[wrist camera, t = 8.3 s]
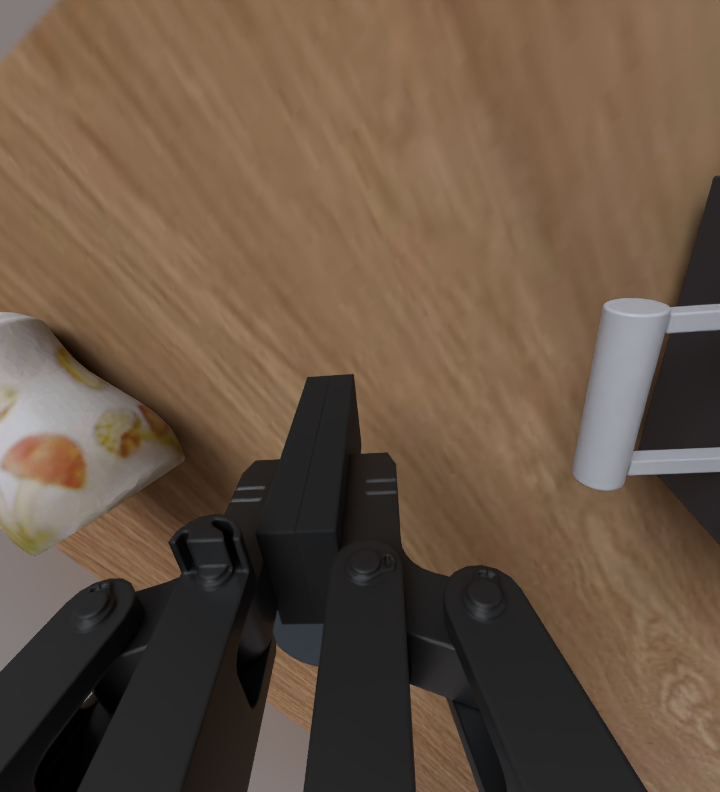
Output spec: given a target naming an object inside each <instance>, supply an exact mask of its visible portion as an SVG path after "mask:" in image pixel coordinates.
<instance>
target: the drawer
mask: <svg viewBox="0 0 720 792" xmlns="http://www.w3.org/2000/svg"><path fill="white" fill-rule="evenodd" d="M665 333H667V334H669V333H670V337H669V341H668V344H667V348H666V352H665V355H664V359H663V362H662V366H661V370H660V373H659V377H658V381H657V384H656V388H655V391H654V395H653V399H652V402H651V406H650V410H649V413H648V417H647V420H646V424H645V428H644V431H643V435H642V439H641V442H640V446H639V449H638V451H633V450H634V446H635V442H636V439H637V435H638V431H639V428H640V424H641V420H642V416H643V413H644V409H645V405H646V402H647V398H648V394H649V390H650V387H651V383H652V379H653V376H654V372H655V368H656V364H657V361H658V357H659V353H660V350H661V346H662V342H663V338H664V335H665ZM572 472H573V475H574V477H575V478H576V479H577V480H578V481H579V482H580V483H582V484H583V485H585V486H587V487H590V488H593V489H596V490H602V491H612V490H616V489H619V488H620V487H622V486H623V485H624V483H625V480H626V476H627V475H654V474H657V475H658V476H659V477H660V479H661V480H662V481H663V482H664V483H665V484H666V485H667V486H668V488H669V489H670V490H671V491H672V492H673V493H674V494H675V496H676V497H677V498H678V499H679V500H680V501H681V502H682V503H683V505H684V506H685V507H686V508H687V509H688V510H689V511H690V512H691V514H692V515H693V516H694V517H695V518H696V519H697V520H698V521H699V523H700V524H701V525H702V526H703V527H704V528H705V529H706V531H707V532H708V533H709V534H710V535H711V536H712V537H713V538H714V540H715V541H716V542H717V543H718V544H719V545H720V176H715V177H714V178H713V181H712V185H711V189H710V192H709V196H708V199H707V203H706V207H705V210H704V214H703V218H702V221H701V225H700V228H699V232H698V236H697V239H696V243H695V247H694V250H693V254H692V257H691V261H690V265H689V268H688V272H687V276H686V279H685V283H684V286H683V290H682V294H681V297H680V301H679V305H678V307H669V306H668V305H666V304H664V303H661V302H658V301H654V300H649V299H640V298H622V299H615V300H611V301H608V302H606V303H605V304H604V305H603V308H602V313H601V319H600V324H599V329H598V335H597V340H596V345H595V351H594V356H593V361H592V367H591V372H590V377H589V382H588V388H587V393H586V398H585V404H584V409H583V414H582V420H581V425H580V430H579V435H578V441H577V446H576V451H575V457H574V462H573V467H572Z"/></svg>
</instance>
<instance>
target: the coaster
mask: <svg viewBox="0 0 720 792" xmlns="http://www.w3.org/2000/svg"><path fill="white" fill-rule="evenodd" d="M323 626H324V624H288V625H282V623H281V620H280V616H279V613H278V610H277V615H276V619H275V623H274V628H273V633H274V636H275V639H276V643H277V645H278V646H279V647H280V648H281V649H282V650H283V651H284V652H285V653H287V654H288V655H290V656H291V657H293V658H295V659H297V660H299V661H301V662H304V663H307V664H310V665H313V666H318V667H319V659H320V650H321V642H322V634H323Z"/></svg>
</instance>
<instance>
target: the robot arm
mask: <svg viewBox="0 0 720 792" xmlns="http://www.w3.org/2000/svg"><path fill="white" fill-rule="evenodd" d="M168 543H169V545H170V547H171V549H172V552H173V554H174V556H175V559H176V561H177V563H178V565H179V568H180V570H181V572H182V573H181V576H180V577H179V578H176V579H174V580H171V581H169V582H166V583H163V584H160V585H156V586H153V587H150V588H147V589H143V590H140V591H137V592H135V590H134V588H133V586H132V584H131V583H130V582H128V581H126V580H124V579H107V580H103V581H100V582H97V583H94V584H92V585H90V586H89V587H87V588H85V589H83V590H82V591H80V592H79V593H78V594H76V595H75V596H74V597H73V598H72V599H71V600H69V601H68V602H67V603H66V604H65V605H64V606H63V607H62V608H61V609H60V610H59V611H58V612H57V613H56V614H55V615H54V616H53V617H52V618H51V619H50V621H49V622H48V623H47V624H46V625H45V626H44V627H43V628H42V629H41V630H40V631H39V632H38V633H37V634H36V635H35V636H34V637H33V638H32V639H31V640H30V642H28V644H27V645H26V646H25V647H24V648H23V649H22V650H21V651H20V652H19V653H18V654H17V655H16V656H15V657H14V658H13V659H12V660H11V661H10V662H9V663H8V665H7V666H6V667H5V668H4V669H3V670H2V671H1V672H0V792H247V790H248V785H249V780H250V776H251V771H252V766H253V761H254V756H255V752H256V747H257V742H258V737H259V732H260V727H261V722H262V718H263V713H264V708H265V703H266V698H267V694H268V689H269V684H270V679H271V674H272V669H273V664H274V660H275V655H276V639H275V636H274V633H273V628H274V623H275V619H276V615H277V610H278V613H279V616H280V620H281V623H282V625H288V624H324V626H323V634H322V642H321V650H320V659H319V667H318V675H317V683H316V692H315V700H314V708H313V716H312V725H311V733H310V742H309V750H308V759H307V767H306V774H305V783H304V791H303V792H416V783H415V766H414V749H413V732H412V715H411V698H410V684H412V685H414V686H417V687H420V688H422V689H425V690H428V691H430V692H433V693H436V694H438V695H441V696H444V697H446V699H447V701H448V704H449V707H450V710H451V713H452V716H453V719H454V722H455V724H456V727H457V730H458V733H459V736H460V739H461V742H462V744H463V747H464V750H465V753H466V756H467V759H468V762H469V764H470V767H471V770H472V773H473V776H474V779H475V782H476V784H477V787H478V790H479V792H648V791H647V790H646V788H645V787H644V785H643V783H642V782H641V780H640V779H639V777H638V775H637V774H636V772H635V771H634V769H633V767H632V766H631V764H630V763H629V761H628V759H627V758H626V756H625V755H624V753H623V751H622V750H621V748H620V747H619V745H618V743H617V742H616V740H615V739H614V737H613V735H612V734H611V732H610V731H609V729H608V727H607V726H606V724H605V723H604V721H603V719H602V718H601V716H600V715H599V713H598V711H597V710H596V708H595V707H594V705H593V703H592V702H591V700H590V699H589V697H588V695H587V694H586V692H585V691H584V689H583V687H582V686H581V684H580V682H579V681H578V679H577V678H576V676H575V674H574V673H573V671H572V670H571V668H570V666H569V665H568V663H567V662H566V660H565V658H564V657H563V655H562V654H561V652H560V650H559V649H558V647H557V646H556V644H555V642H554V641H553V639H552V638H551V636H550V634H549V633H548V631H547V630H546V628H545V626H544V625H543V623H542V622H541V620H540V618H539V617H538V615H537V614H536V612H535V610H534V609H533V607H532V606H531V604H530V602H529V601H528V599H527V598H526V596H525V594H524V593H523V591H522V590H521V588H520V587H519V586H518V585H517V584H516V583H515V582H514V580H513V579H512V578H511V577H509V576H508V575H506V574H504V573H503V572H501V571H499V570H498V569H495V568H491V567H487V566H483V565H478V566H467V567H464V568H462V569H460V570H458V571H456V572H454V573H453V575H452V576H451V577H448V576H444V575H441V574H437V573H433V572H430V571H428V570H425V569H422V568H421V567H419V566H418V565H416V564H415V563H413V562H412V561H411V560H410V559H409V558H408V557H407V555H406V554H405V552H404V550H403V548H402V544H401V536H400V519H399V503H398V488H397V472H396V464H395V462H394V461H393V460H392V458H391V457H390V456H389V454H388V453H368V454H361V436H360V427H359V418H358V409H357V400H356V391H355V382H354V374H348V375H333V376H319V377H307V380H306V383H305V386H304V389H303V392H302V395H301V398H300V401H299V404H298V407H297V410H296V413H295V416H294V419H293V422H292V425H291V428H290V431H289V434H288V437H287V440H286V443H285V446H284V449H283V452H282V455H281V458H280V459H278V460H259V461H255V462H254V463H253V464H252V465H251V466H250V467H249V468H248V469H247V470H246V471H245V472H244V473H243V474H242V476H241V478H240V481H239V483H238V485H237V487H236V491H235V492H234V494H233V496H232V499H231V503H229V506H228V508H227V510H226V512H225V515H221V514H213V515H208V516H202V517H200V518H198V519H195V520H193V521H191V522H189V523H187V524H186V525H185V526H183V527H182V528H181V529H179V530H178V531H177V532H176V533H175V534H174V536H173V537H172V538H171V539H170V541H169V542H168ZM91 692H92V693H93V694H92V695H91V696H90V697H89V698H88V699H87V700H86V701H85V699H86V698H87V697H88V696H89V694H90V693H91ZM84 701H85V702H84ZM83 702H84V703H83Z"/></svg>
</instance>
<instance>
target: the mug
mask: <svg viewBox="0 0 720 792" xmlns="http://www.w3.org/2000/svg"><path fill="white" fill-rule="evenodd" d="M184 460H185V456H184V454H183V451H182V448H181V445H180V443H179V441H178V439H177V437H176V436H175V434H174V432H173V431H172V429H171V428H170V427H169V426H168V425H167V424H166V422H165V421H164V420H163V419H162V418H160V417H159V416H158V415H157V414H156V413H155V412H153V411H152V410H151V409H149V408H148V407H146V406H145V405H144V404H142V403H141V402H139V401H138V400H136V399H134V398H133V397H131V396H129V395H128V394H126V393H124V392H122V391H121V390H119V389H118V388H116V387H114V386H112V385H111V384H109V383H108V382H106V381H104V380H103V379H101V378H99V377H98V376H96V375H95V374H93V373H92V372H90V371H89V370H87V369H86V368H85V367H83V366H82V365H81V364H80V363H79V362H77V361H76V360H75V359H74V358H73V357H72V356H71V354H70V353H69V352H68V351H67V350H66V349H65V348H64V346H63V345H62V344H61V343H60V342H59V340H58V339H57V338H56V337H55V335H54V334H53V333H52V331H51V330H50V329H49V327H48V326H47V325H46V323H45V322H43V321H42V320H40V319H38V318H35V317H29V316H26V315H24V314H20V313H13V312H0V528H1V530H2V531H3V532H4V533H5V534H6V536H7V537H8V538H9V539H10V540H11V541H12V542H13V543H15V544H16V545H17V546H18V547H20V548H21V549H22V550H24V551H26V552H27V553H29V554H30V555H33V556H36V555H38V554H40V553H42V552H44V551H46V550H47V549H49V548H50V547H52V546H54V545H55V544H57V543H59V542H60V541H62V540H64V539H65V538H67V537H68V536H70V535H72V534H73V533H75V532H77V531H78V530H80V529H81V528H83V527H84V526H86V525H88V524H89V523H91V522H92V521H94V520H96V519H97V518H99V517H100V516H102V515H103V514H105V513H106V512H108V511H110V510H111V509H113V508H114V507H116V506H117V505H119V504H120V503H122V502H123V501H125V500H126V499H128V498H130V497H131V496H133V495H134V494H136V493H137V492H139V491H140V490H142V489H143V488H145V487H146V486H148V485H149V484H151V483H152V482H154V481H155V480H157V479H158V478H160V477H161V476H163V475H164V474H166V473H167V472H169V471H170V470H172V469H173V468H175V467H176V466H178V465H179V464H180V463H182V462H183V461H184Z"/></svg>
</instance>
